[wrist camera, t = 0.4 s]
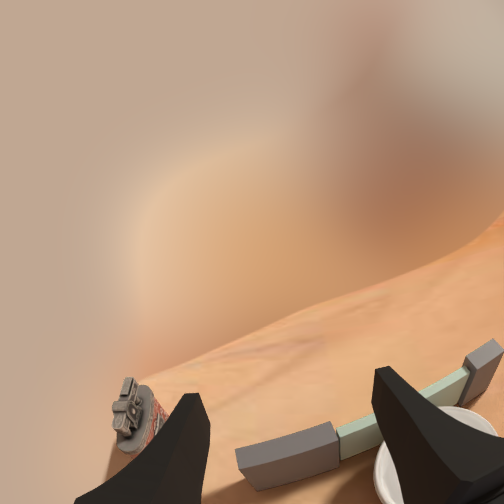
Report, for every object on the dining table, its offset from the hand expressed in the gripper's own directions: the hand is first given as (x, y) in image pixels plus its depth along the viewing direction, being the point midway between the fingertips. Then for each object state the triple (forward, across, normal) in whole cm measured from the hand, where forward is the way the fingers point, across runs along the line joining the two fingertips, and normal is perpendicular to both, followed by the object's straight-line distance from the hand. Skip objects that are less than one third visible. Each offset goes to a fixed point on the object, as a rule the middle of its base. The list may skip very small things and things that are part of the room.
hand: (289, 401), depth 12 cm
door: (+9, -11, +17) cm, 22 cm away
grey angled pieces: (+8, -9, +17) cm, 21 cm away
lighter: (+11, +14, +19) cm, 26 cm away
